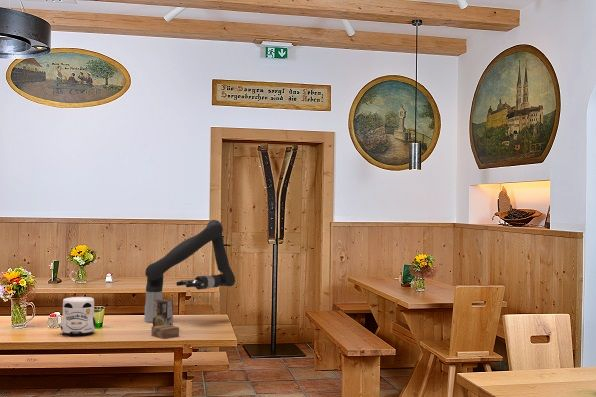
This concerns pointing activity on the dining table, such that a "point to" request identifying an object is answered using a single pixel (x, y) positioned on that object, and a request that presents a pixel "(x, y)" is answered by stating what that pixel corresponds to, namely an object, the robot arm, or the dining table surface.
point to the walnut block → (165, 331)
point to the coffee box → (162, 312)
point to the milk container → (78, 316)
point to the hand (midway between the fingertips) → (181, 284)
